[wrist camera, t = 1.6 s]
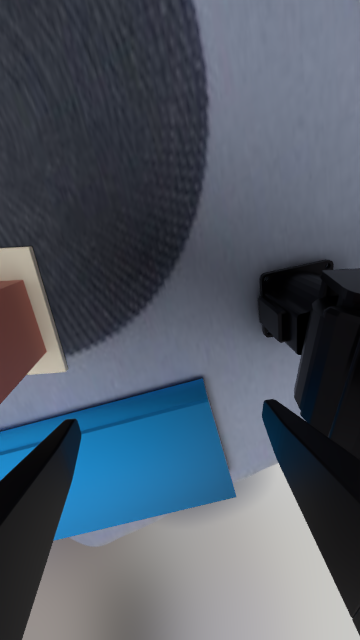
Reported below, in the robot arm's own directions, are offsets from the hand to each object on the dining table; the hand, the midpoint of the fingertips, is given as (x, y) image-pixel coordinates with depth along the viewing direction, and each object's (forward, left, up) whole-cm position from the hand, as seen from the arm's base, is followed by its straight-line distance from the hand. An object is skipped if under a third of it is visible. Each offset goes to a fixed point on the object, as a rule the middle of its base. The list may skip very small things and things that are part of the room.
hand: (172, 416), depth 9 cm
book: (+10, +18, -14) cm, 25 cm away
